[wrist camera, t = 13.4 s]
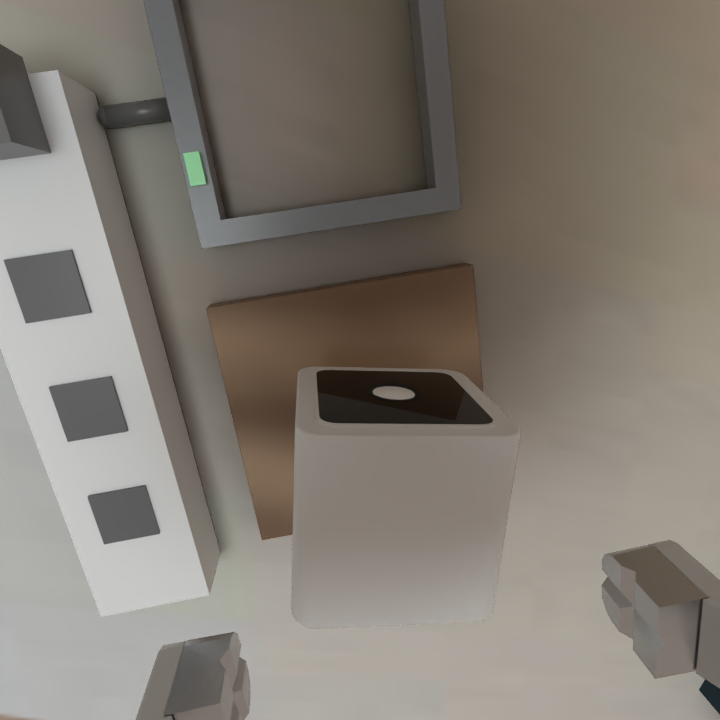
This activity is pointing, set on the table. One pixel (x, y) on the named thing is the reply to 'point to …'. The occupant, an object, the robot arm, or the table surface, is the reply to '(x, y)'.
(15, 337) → the power strip
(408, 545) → the security camera
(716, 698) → the watch
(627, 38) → the table surface
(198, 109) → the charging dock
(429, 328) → the walnut pad
